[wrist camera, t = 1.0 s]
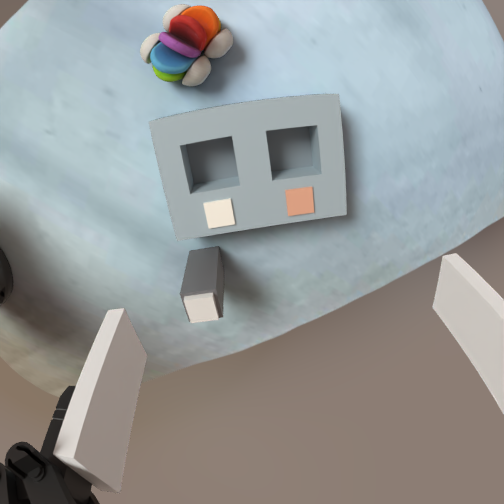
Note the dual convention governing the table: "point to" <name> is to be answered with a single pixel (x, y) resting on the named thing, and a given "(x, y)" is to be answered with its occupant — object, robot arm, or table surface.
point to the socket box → (252, 164)
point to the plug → (203, 285)
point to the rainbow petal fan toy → (186, 44)
